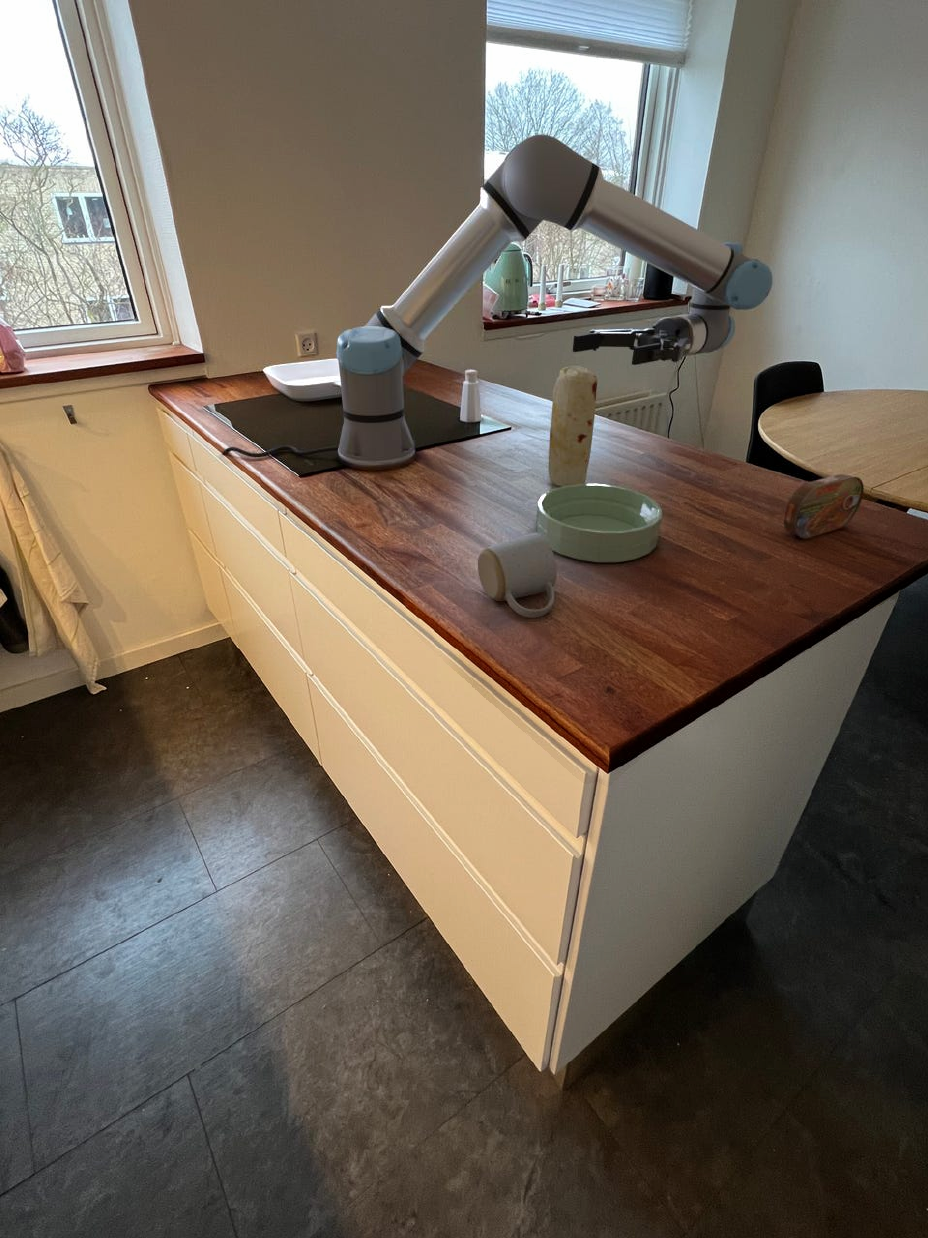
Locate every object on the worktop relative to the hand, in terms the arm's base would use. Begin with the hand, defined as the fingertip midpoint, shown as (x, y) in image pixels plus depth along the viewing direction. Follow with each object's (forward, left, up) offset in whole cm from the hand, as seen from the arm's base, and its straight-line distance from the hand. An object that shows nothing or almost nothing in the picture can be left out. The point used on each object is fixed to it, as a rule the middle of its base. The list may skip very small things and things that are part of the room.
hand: (603, 349), depth 111 cm
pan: (-38, +73, -22) cm, 85 cm away
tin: (+20, -36, -22) cm, 47 cm away
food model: (-8, -5, -22) cm, 24 cm away
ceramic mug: (-32, -40, -22) cm, 56 cm away
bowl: (-14, -27, -21) cm, 37 cm away
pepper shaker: (-11, +39, -22) cm, 46 cm away
